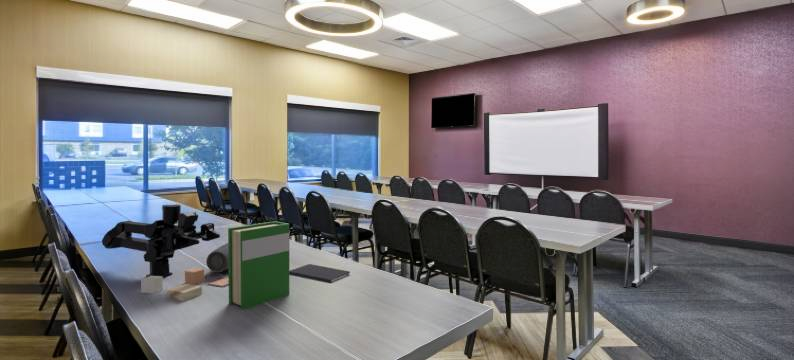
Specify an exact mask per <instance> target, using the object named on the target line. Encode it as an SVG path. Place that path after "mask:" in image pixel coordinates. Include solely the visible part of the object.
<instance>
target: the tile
mask: <svg viewBox="0 0 794 360" xmlns="http://www.w3.org/2000/svg"><path fill="white" fill-rule="evenodd" d="M207 285H208V286H212V287H218V288H225V287H227V286H229V279H226V278H221V279H218V280H216V281H212V282H210V283H207Z"/></svg>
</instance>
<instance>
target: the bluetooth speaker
mask: <svg viewBox="0 0 794 360" xmlns="http://www.w3.org/2000/svg"><path fill="white" fill-rule="evenodd" d="M205 261H206V266H207V268H208V269H209V270H210V271H211V272H213V273H221V272H227V271H228V272H229V265H228V242H227V243H225V244H222V245H221V246H219V247H217V248H216V249H215V250H213V251H212V252H210V253H209V254H208V255H207V257H206V260H205Z"/></svg>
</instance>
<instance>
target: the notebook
mask: <svg viewBox="0 0 794 360" xmlns="http://www.w3.org/2000/svg"><path fill="white" fill-rule="evenodd" d="M350 273H351V272H350V270H343V269H338V268H334V267H333V268H332V267H327V266H323V265H317V264H311V263H308V264H304V265H302V266H299V267H296V268H293V269H291V270H290V269H289V275H292V276H297V277H302V278H307V279H311V280H315V279H316V281H322V282H327V283H333V282H335V280H336V281H338V280H339V279H343V278H346V277H348V276H349V274H350ZM342 277H343V278H342ZM337 279H338V280H337Z"/></svg>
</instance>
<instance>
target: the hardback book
mask: <svg viewBox="0 0 794 360" xmlns="http://www.w3.org/2000/svg"><path fill="white" fill-rule="evenodd" d="M227 230H228V231H227V235H228V238H227V240H228V241H227V243H228V265H229V270H228V280H229V285H228V305H230V306H231V305H234V304H236V305H238V306H240V310H242V311H243V310H246V309H250V308H251V307H255V306H258V305H262V304H264V303H268V302H270V301H274V300H276V299H279V298H282V297H285V296H289V295H290V274H289V271H290V223H286V222H283V221H282V222H280V221H268V222H267V221H266V222H261V223H260V222H259V223H255V224H248V225H241V226H234V227H228V228H227Z"/></svg>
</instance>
